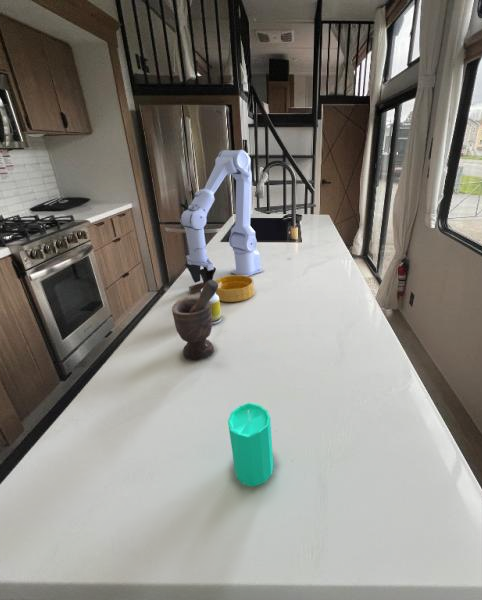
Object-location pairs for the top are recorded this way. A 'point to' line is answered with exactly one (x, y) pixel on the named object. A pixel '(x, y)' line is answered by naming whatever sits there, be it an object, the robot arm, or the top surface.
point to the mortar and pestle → (195, 322)
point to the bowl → (235, 288)
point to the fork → (196, 288)
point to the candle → (251, 444)
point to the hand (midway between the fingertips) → (202, 284)
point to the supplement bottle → (215, 309)
